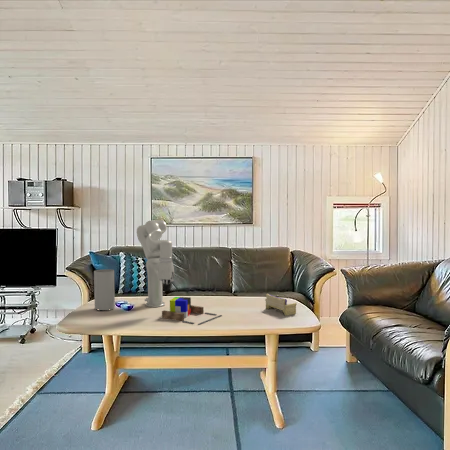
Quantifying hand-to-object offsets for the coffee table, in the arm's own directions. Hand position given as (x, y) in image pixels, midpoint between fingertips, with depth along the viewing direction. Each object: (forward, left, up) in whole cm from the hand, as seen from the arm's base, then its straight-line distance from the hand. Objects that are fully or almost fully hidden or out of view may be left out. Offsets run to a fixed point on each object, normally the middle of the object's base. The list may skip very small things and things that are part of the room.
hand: (166, 290), depth 248 cm
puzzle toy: (+10, 0, -15) cm, 18 cm away
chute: (+12, 0, -14) cm, 19 cm away
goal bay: (+27, 0, -14) cm, 30 cm away
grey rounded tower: (-42, -13, -14) cm, 46 cm away
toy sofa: (+58, +40, -15) cm, 72 cm away
